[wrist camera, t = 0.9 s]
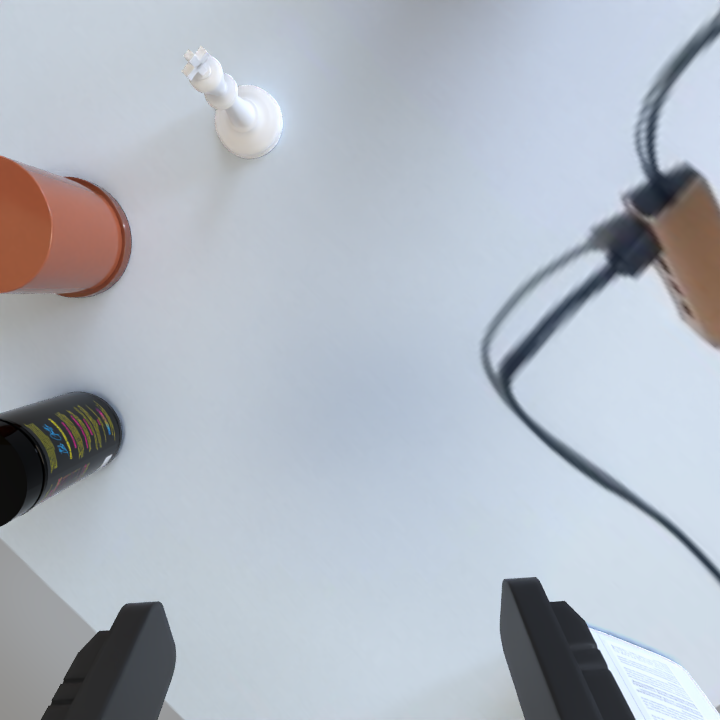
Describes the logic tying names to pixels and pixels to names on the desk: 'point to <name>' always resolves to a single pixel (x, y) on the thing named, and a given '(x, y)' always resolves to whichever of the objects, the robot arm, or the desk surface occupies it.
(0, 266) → the upturned cup
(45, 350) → the desk surface
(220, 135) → the chess piece
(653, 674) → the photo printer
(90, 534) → the desk surface
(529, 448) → the desk surface
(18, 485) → the supplement container
